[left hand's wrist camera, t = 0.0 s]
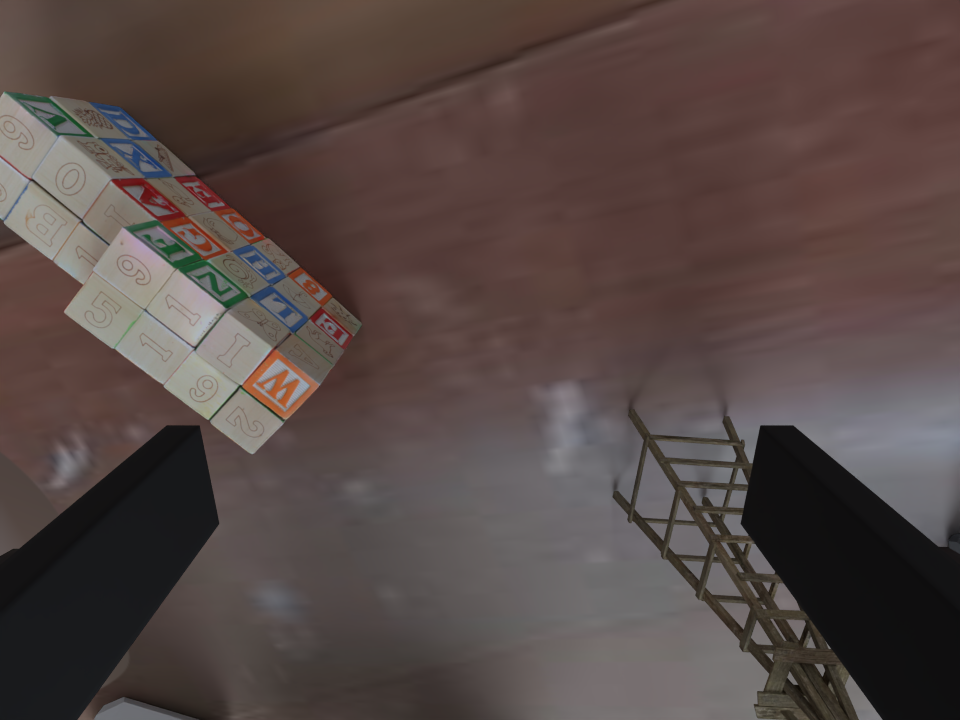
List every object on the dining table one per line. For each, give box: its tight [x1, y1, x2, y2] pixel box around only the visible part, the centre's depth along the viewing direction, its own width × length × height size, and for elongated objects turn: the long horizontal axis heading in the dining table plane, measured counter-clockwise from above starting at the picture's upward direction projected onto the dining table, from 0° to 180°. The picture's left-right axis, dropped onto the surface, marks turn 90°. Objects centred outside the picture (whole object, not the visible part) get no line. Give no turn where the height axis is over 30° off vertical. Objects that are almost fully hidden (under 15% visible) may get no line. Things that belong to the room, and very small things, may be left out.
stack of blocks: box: [0, 91, 362, 454], centre depth 33 cm, size 21×6×12 cm, turn 45°
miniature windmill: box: [613, 409, 859, 720], centre depth 30 cm, size 9×8×30 cm
